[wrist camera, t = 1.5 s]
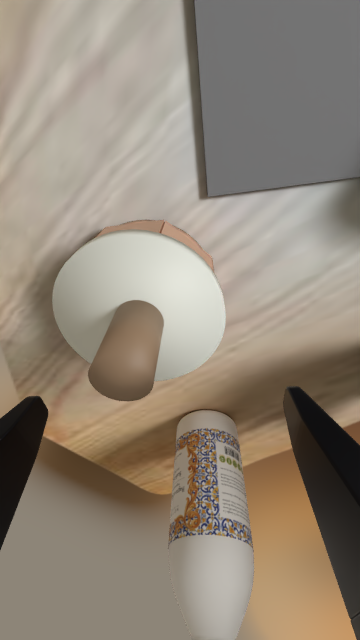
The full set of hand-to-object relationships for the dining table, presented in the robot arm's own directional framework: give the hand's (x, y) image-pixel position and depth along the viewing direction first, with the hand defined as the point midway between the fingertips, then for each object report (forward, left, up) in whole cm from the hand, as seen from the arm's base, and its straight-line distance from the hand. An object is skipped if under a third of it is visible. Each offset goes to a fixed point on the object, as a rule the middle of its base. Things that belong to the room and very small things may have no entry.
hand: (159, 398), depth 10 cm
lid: (-2, +3, -9) cm, 9 cm away
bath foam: (-21, 0, -13) cm, 24 cm away
